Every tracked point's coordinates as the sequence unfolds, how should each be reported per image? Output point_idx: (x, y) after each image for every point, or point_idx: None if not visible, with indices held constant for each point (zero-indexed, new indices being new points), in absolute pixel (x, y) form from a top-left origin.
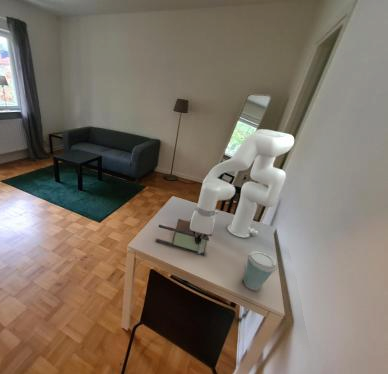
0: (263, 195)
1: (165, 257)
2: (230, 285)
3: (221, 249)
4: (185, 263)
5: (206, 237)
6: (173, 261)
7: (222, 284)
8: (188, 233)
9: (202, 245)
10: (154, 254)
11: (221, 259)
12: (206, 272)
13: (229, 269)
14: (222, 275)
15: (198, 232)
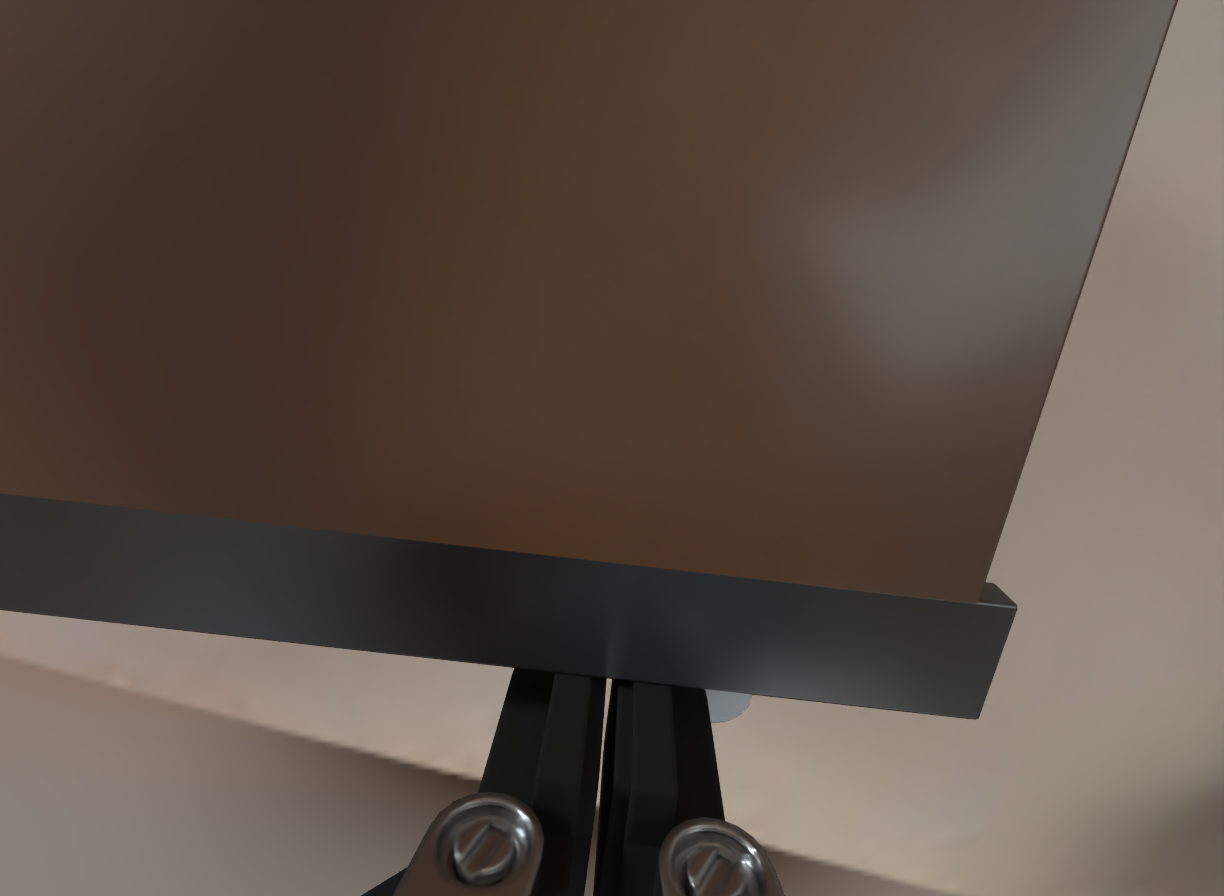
0: None
1: (199, 667)
2: (1042, 874)
3: (1210, 164)
4: (491, 698)
5: (912, 624)
6: (324, 706)
7: (943, 881)
8: (245, 596)
9: (741, 710)
10: (34, 654)
11: (1092, 466)
12: (775, 770)
13: (1144, 643)
14: (990, 765)
15: (624, 408)
